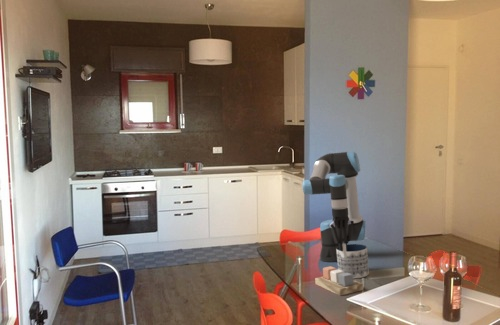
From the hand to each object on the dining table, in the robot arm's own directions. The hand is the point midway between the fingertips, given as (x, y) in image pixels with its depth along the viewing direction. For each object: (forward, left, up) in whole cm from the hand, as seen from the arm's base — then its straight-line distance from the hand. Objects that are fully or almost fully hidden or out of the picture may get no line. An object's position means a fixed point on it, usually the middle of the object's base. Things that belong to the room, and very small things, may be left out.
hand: (343, 257), depth 224 cm
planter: (-18, -19, -17) cm, 31 cm away
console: (0, -7, -16) cm, 18 cm away
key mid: (0, -7, -13) cm, 15 cm away
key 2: (0, 0, -13) cm, 13 cm away
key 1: (0, -14, -13) cm, 19 cm away
